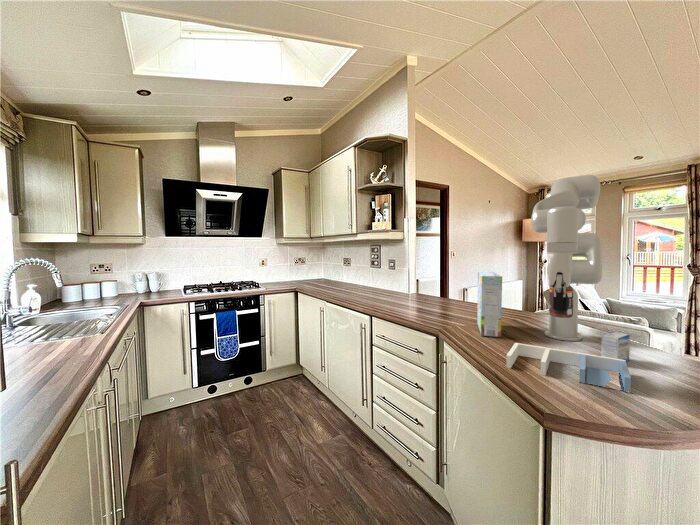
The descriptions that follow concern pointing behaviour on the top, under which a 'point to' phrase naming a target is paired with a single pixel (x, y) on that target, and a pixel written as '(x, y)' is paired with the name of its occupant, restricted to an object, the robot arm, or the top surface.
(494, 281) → the snack box
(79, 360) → the top surface
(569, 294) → the supplement bottle
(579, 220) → the robot arm
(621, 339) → the medicine box
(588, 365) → the organizer
